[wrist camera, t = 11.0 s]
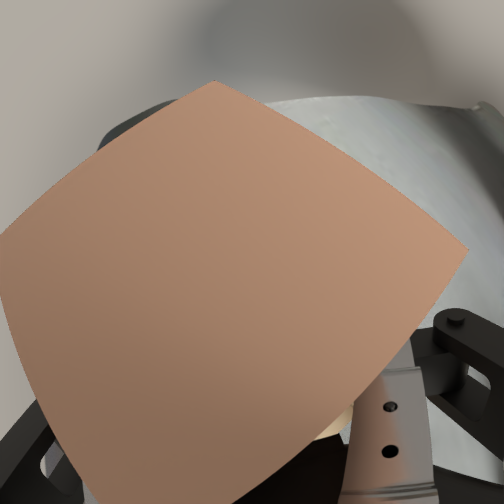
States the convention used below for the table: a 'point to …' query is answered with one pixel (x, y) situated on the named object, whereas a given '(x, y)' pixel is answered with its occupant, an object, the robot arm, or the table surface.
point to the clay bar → (212, 297)
